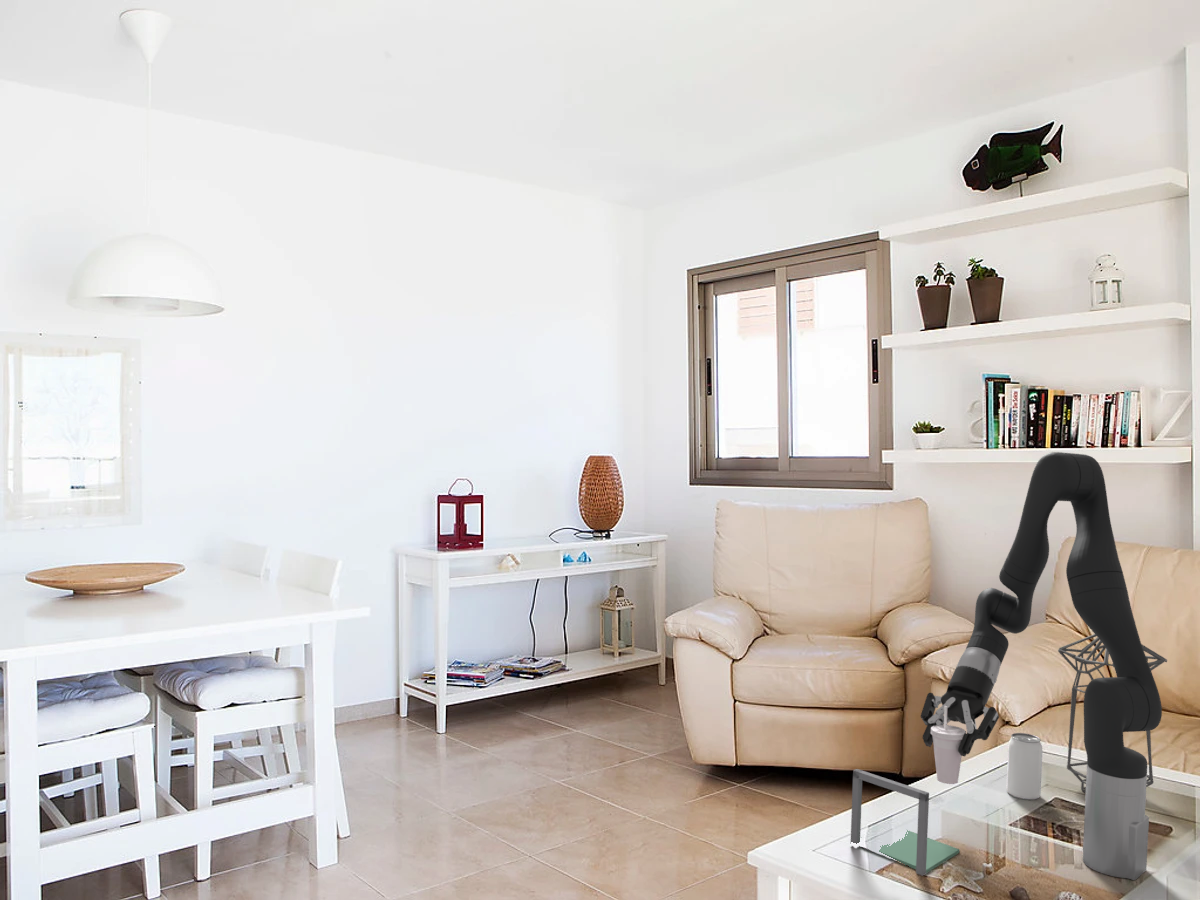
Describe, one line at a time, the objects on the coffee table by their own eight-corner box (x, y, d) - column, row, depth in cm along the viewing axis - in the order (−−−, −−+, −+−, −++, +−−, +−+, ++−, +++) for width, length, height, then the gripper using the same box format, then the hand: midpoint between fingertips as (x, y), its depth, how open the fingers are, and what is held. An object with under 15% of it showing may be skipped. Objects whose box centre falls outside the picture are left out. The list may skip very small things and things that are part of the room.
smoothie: (936, 771, 185) (938, 700, 185) (970, 779, 181) (971, 706, 181) (924, 781, 180) (925, 707, 180) (958, 789, 176) (960, 714, 176)
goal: (959, 852, 171) (962, 775, 170) (922, 875, 162) (925, 794, 161) (888, 826, 181) (891, 753, 180) (850, 846, 172) (853, 770, 171)
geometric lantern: (1107, 814, 189) (1110, 638, 189) (1050, 785, 204) (1052, 623, 204) (1171, 806, 194) (1174, 634, 193) (1110, 778, 209) (1113, 619, 208)
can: (1045, 801, 195) (1048, 743, 194) (1014, 800, 195) (1016, 742, 194) (1032, 788, 201) (1034, 732, 201) (1001, 787, 201) (1003, 731, 201)
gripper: (934, 658, 191) (902, 728, 183) (1005, 672, 180) (974, 747, 172) (946, 680, 194) (915, 750, 186) (1017, 695, 184) (987, 770, 176)
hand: (944, 748), depth 179 cm, fingers closed on smoothie, 6 cm apart
